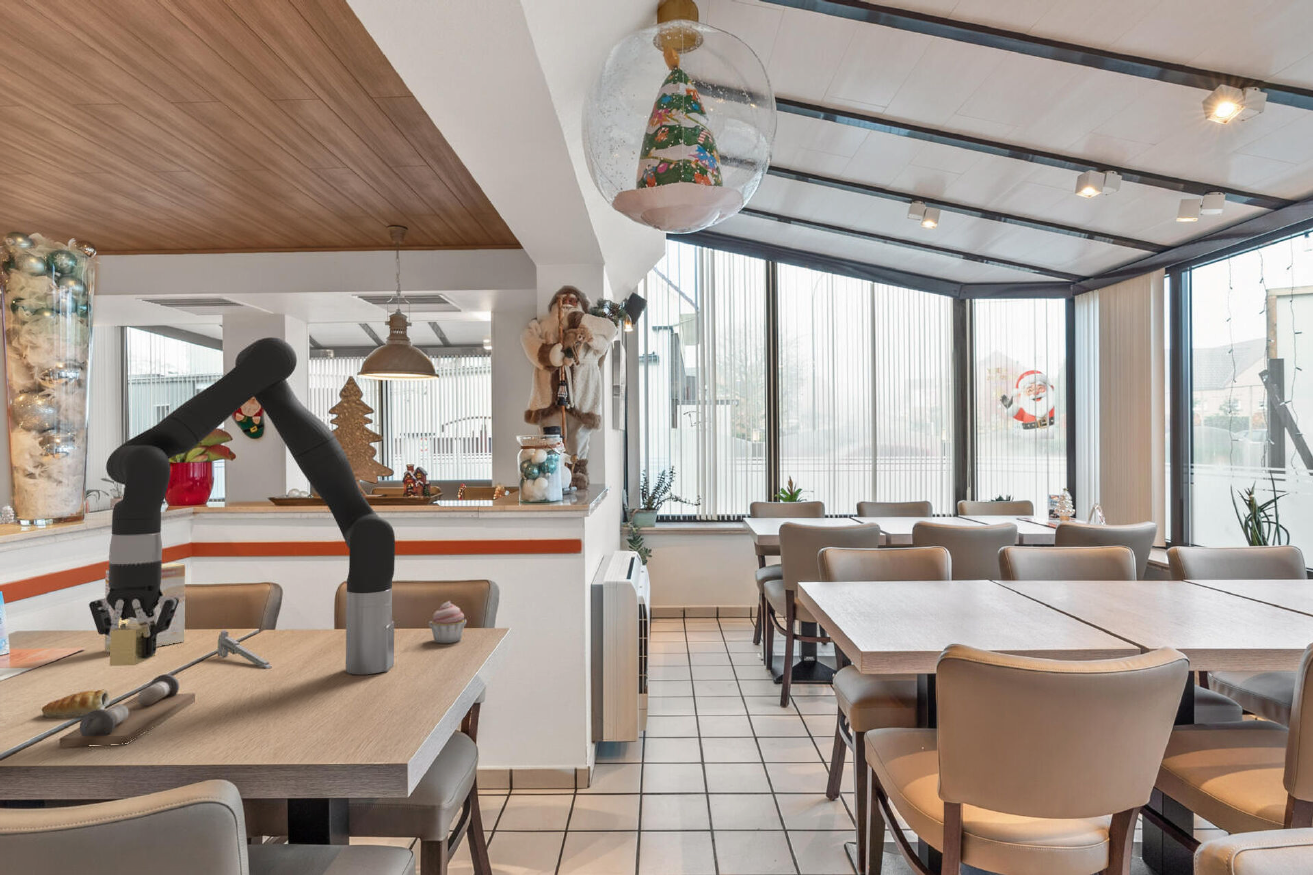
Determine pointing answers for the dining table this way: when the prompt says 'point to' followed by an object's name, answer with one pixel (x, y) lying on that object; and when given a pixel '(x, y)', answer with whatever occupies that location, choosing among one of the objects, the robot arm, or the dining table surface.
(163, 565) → the coffeecake box
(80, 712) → the pastry
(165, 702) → the shaft mount
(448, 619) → the cupcake
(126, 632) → the coupler
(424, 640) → the dining table surface
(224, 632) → the caliper
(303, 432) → the robot arm
